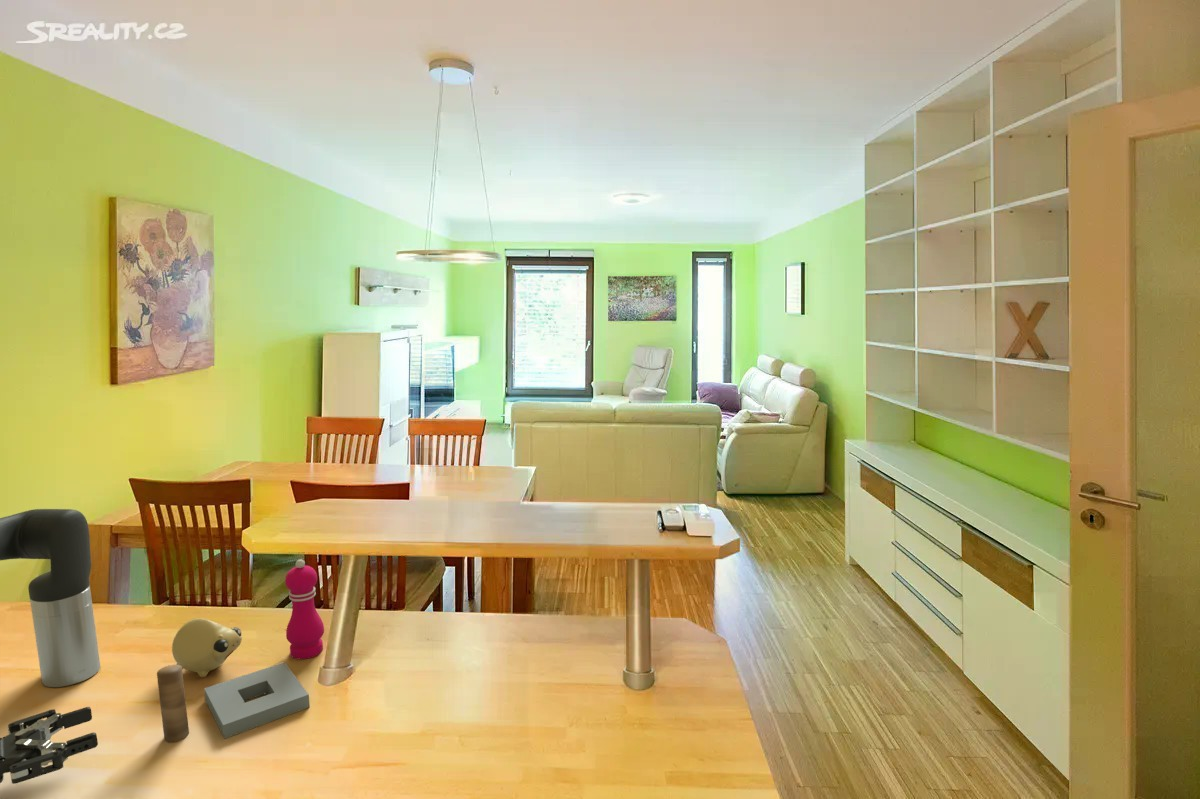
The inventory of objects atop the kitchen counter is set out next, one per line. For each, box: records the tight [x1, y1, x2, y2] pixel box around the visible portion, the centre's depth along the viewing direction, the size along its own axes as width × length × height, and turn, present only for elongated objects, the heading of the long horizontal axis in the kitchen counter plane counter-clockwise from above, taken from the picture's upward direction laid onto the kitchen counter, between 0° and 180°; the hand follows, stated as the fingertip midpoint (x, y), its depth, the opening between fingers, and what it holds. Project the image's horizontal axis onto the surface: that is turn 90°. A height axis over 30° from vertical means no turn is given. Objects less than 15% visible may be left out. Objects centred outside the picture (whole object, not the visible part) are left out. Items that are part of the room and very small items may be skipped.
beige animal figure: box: [171, 617, 243, 678], centre depth 142 cm, size 10×12×11 cm
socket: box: [203, 661, 310, 739], centre depth 131 cm, size 14×14×2 cm
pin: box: [156, 664, 190, 743], centre depth 122 cm, size 4×4×12 cm
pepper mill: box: [284, 559, 325, 660], centre depth 148 cm, size 7×7×20 cm
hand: (94, 725), depth 115 cm, fingers open, 8 cm apart
